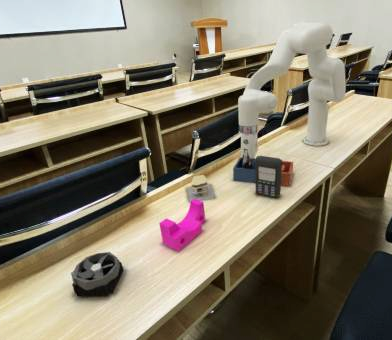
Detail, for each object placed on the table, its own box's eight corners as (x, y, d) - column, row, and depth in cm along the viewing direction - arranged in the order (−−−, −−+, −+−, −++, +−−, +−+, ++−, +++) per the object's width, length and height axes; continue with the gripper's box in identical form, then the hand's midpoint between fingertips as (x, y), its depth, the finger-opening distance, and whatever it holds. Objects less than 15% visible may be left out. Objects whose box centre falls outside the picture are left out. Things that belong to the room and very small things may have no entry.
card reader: (254, 195, 114) (253, 158, 107) (257, 189, 117) (257, 154, 110) (277, 200, 111) (279, 162, 104) (281, 194, 114) (282, 157, 107)
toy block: (178, 251, 88) (175, 230, 84) (163, 243, 91) (159, 223, 87) (211, 223, 99) (209, 204, 96) (196, 217, 102) (194, 198, 99)
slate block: (245, 167, 128) (245, 157, 126) (255, 168, 127) (255, 158, 125) (242, 172, 125) (242, 162, 122) (253, 173, 124) (253, 163, 122)
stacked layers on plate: (187, 187, 119) (185, 175, 117) (210, 184, 121) (209, 172, 118) (189, 201, 111) (187, 188, 108) (214, 198, 112) (213, 185, 110)
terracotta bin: (267, 171, 130) (267, 159, 128) (292, 173, 128) (293, 161, 125) (262, 183, 121) (262, 171, 119) (289, 186, 119) (290, 173, 116)
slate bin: (240, 168, 133) (239, 156, 130) (264, 171, 131) (264, 159, 128) (233, 180, 124) (233, 168, 121) (259, 183, 121) (259, 170, 119)
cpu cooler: (123, 251, 80) (108, 281, 71) (127, 267, 83) (113, 298, 74) (84, 251, 80) (63, 282, 71) (89, 267, 83) (70, 299, 74)
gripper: (253, 136, 109) (253, 181, 118) (262, 121, 124) (262, 162, 132) (233, 135, 111) (234, 179, 119) (244, 120, 126) (245, 160, 134)
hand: (249, 169), depth 126 cm, fingers closed on slate block, 4 cm apart
